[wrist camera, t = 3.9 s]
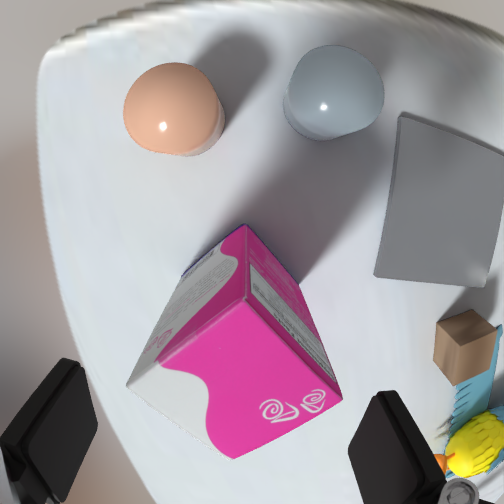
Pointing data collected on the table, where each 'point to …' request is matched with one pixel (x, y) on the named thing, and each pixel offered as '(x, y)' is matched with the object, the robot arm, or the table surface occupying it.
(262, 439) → the supplement box
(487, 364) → the walnut block
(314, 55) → the pale blue dome knob
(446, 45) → the table surface
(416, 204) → the coaster
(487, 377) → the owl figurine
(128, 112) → the peach dome cap
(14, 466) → the robot arm
